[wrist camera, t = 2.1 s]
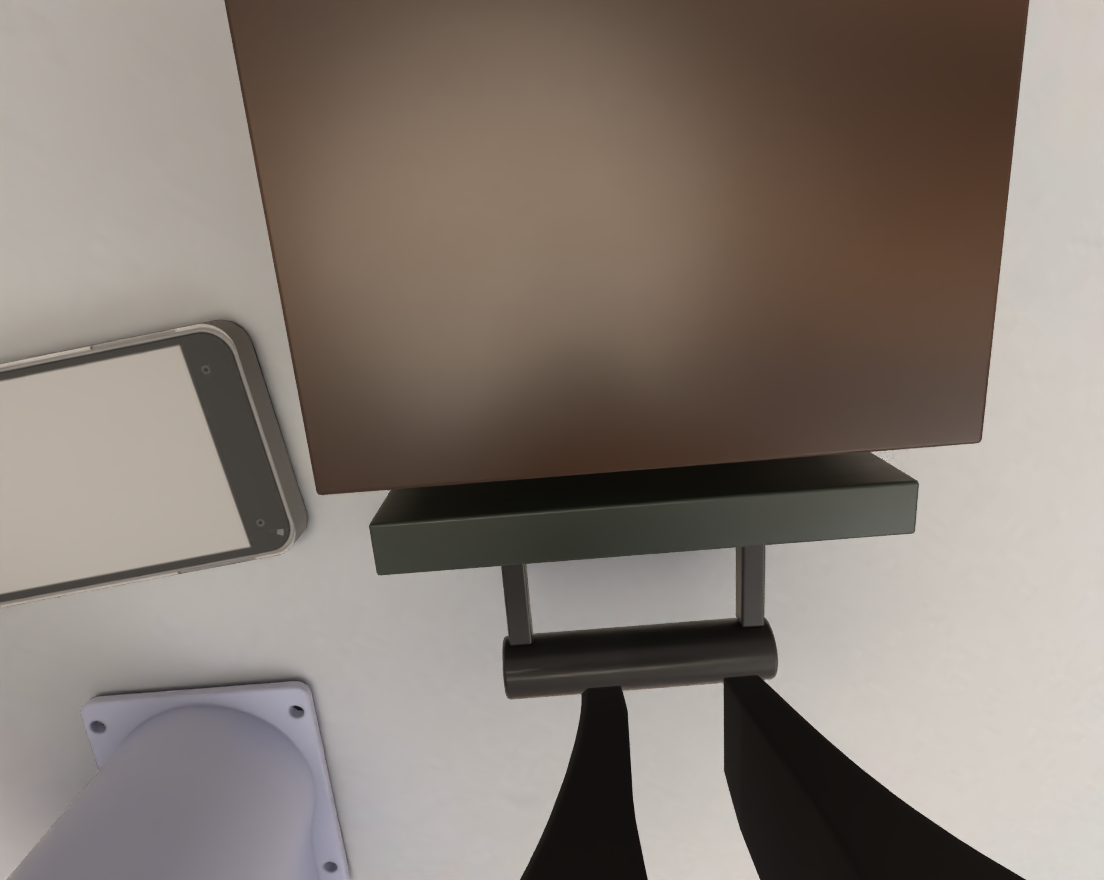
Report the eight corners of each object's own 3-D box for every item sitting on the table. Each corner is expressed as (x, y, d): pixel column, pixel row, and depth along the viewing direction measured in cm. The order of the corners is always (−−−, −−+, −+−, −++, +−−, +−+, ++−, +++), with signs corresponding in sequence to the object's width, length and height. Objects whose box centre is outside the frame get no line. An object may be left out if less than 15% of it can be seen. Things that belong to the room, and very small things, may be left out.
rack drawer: (791, 588, 22) (899, 733, 15) (447, 615, 22) (408, 771, 15) (808, -66, 17) (983, -273, 10) (360, -30, 17) (244, -212, 10)
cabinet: (805, 367, 21) (983, 444, 12) (405, 398, 21) (315, 497, 12) (822, -205, 17) (1103, -659, 8) (325, -164, 17) (113, -577, 8)
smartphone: (-270, 418, 19) (226, 318, 19) (-229, 410, 20) (242, 314, 20) (-148, 635, 21) (302, 550, 21) (-116, 617, 22) (313, 536, 22)
